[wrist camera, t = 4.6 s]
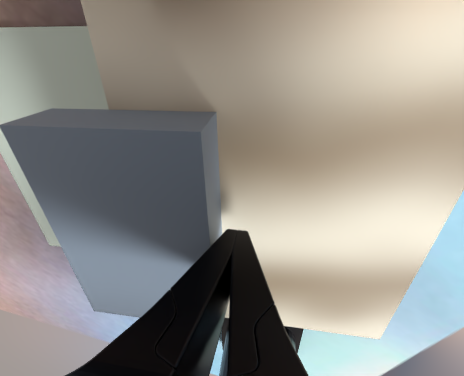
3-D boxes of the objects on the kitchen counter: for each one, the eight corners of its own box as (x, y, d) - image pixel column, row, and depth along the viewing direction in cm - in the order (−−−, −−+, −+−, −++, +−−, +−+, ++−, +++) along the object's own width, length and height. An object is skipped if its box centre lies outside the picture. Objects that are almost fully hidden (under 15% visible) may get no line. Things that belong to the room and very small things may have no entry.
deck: (358, 276, 16) (379, 339, 13) (182, 257, 18) (160, 308, 14) (572, -284, 6) (970, -715, 3) (108, -212, 7) (-31, -421, 4)
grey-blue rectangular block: (224, 289, 13) (216, 328, 11) (116, 276, 13) (93, 310, 12) (216, 112, 8) (200, 132, 6) (51, 108, 9) (-2, 124, 7)
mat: (176, 256, 18) (174, 259, 18) (52, 242, 19) (49, 245, 19) (135, 25, 11) (131, 25, 10) (-59, 28, 12) (-66, 28, 12)
